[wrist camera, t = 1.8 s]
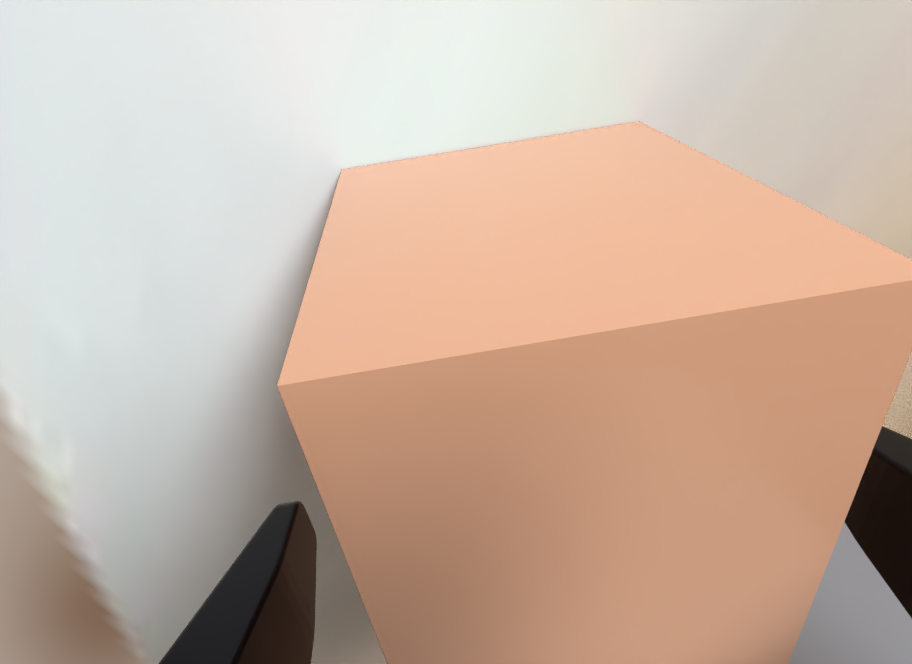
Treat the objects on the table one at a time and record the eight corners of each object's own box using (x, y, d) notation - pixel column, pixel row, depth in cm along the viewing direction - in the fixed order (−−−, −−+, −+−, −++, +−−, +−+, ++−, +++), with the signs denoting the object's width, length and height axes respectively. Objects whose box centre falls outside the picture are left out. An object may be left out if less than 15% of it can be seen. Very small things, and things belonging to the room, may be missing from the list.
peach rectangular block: (623, 446, 16) (764, 722, 10) (418, 481, 15) (434, 781, 10) (639, 121, 11) (941, 274, 5) (341, 169, 11) (276, 386, 5)
